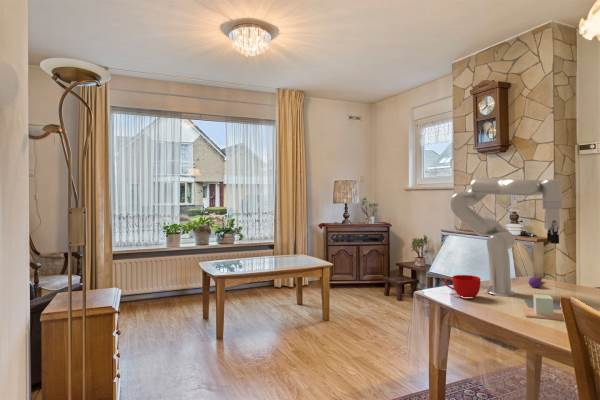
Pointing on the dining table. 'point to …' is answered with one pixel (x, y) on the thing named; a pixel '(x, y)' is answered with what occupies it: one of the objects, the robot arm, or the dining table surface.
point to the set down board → (532, 314)
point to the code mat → (531, 304)
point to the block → (543, 305)
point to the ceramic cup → (465, 285)
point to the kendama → (535, 282)
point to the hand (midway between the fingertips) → (553, 242)
